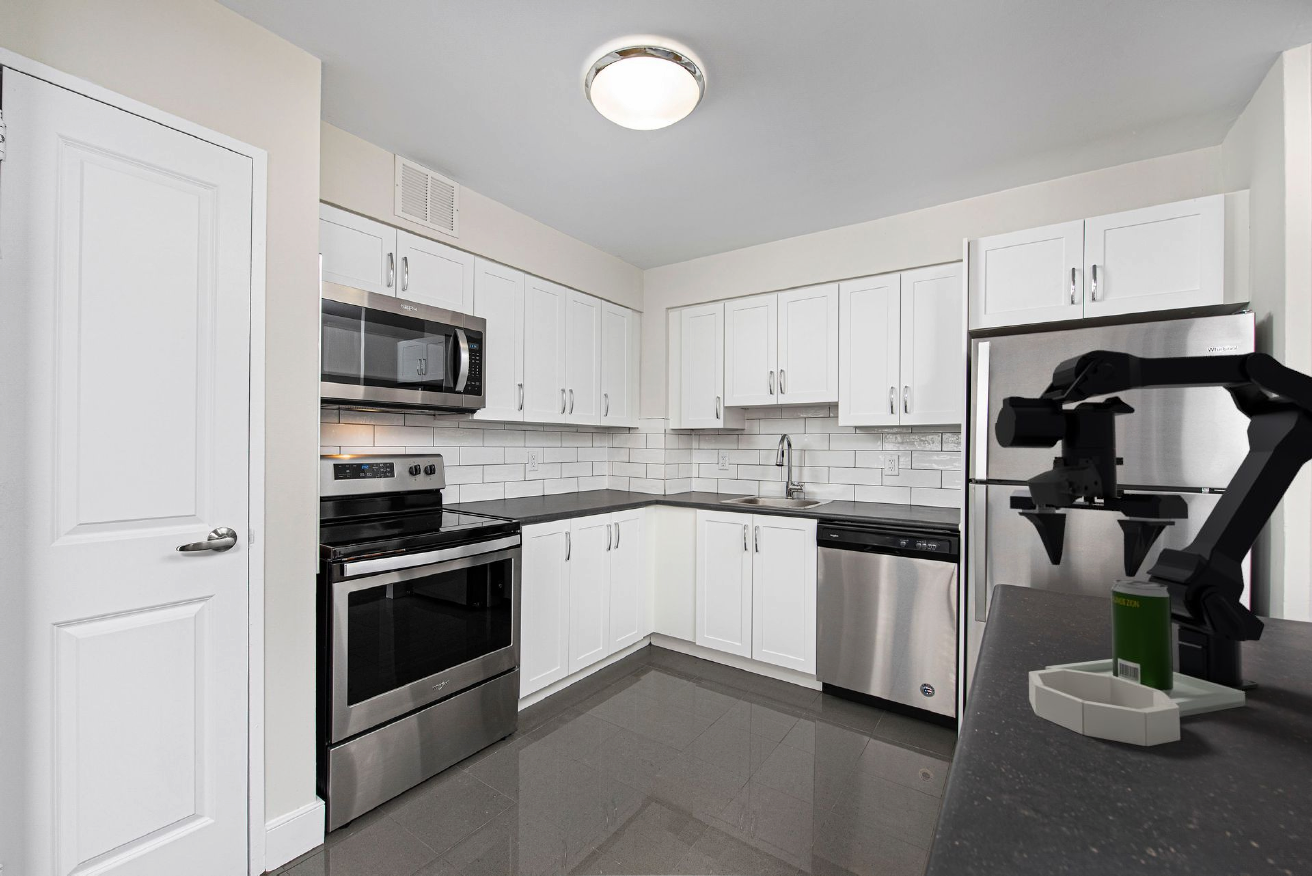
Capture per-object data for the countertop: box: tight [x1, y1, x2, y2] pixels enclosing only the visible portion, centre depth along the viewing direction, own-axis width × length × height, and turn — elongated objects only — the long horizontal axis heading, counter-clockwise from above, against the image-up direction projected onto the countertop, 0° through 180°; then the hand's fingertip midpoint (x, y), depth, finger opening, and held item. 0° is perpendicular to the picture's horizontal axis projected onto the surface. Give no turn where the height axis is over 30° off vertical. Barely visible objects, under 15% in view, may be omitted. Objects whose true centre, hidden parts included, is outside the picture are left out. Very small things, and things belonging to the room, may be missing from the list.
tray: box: [1045, 658, 1246, 718], centre depth 68 cm, size 14×12×2 cm
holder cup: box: [1028, 668, 1181, 747], centre depth 60 cm, size 12×12×3 cm
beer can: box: [1110, 579, 1174, 695], centre depth 67 cm, size 5×5×12 cm
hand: (1090, 570), depth 74 cm, fingers open, 9 cm apart
